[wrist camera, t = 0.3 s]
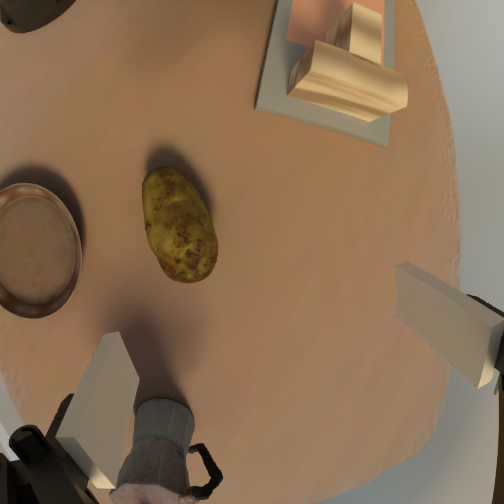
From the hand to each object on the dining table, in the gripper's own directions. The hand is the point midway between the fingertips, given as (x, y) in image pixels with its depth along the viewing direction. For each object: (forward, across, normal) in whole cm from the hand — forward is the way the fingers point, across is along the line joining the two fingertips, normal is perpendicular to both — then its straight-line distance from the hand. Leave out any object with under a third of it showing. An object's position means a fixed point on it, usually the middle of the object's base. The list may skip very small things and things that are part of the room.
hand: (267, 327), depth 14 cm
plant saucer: (+26, -27, +3) cm, 38 cm away
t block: (+29, +18, +17) cm, 38 cm away
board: (+31, +21, +23) cm, 44 cm away
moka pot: (+23, -16, -25) cm, 38 cm away
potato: (+27, -6, +1) cm, 28 cm away
